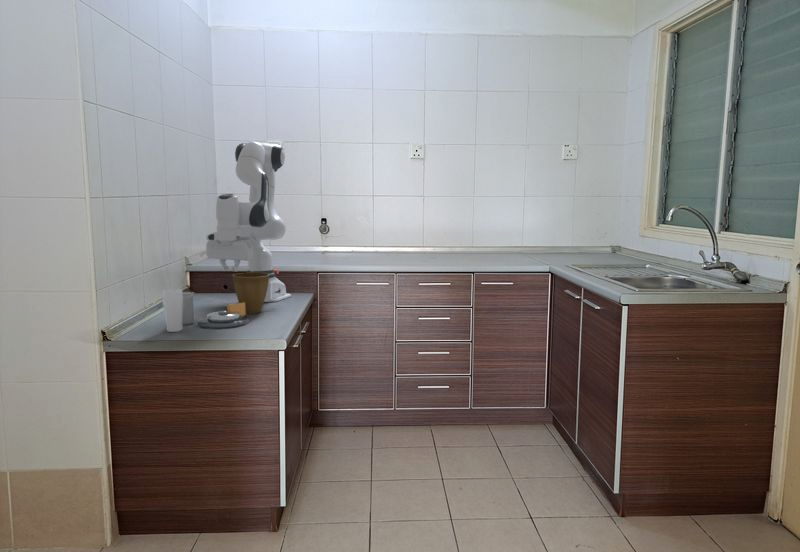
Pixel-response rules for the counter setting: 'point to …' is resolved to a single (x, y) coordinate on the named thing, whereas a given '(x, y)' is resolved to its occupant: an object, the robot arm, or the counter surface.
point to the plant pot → (251, 290)
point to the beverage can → (187, 309)
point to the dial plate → (212, 325)
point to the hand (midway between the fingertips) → (230, 270)
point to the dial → (228, 313)
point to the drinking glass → (173, 309)
